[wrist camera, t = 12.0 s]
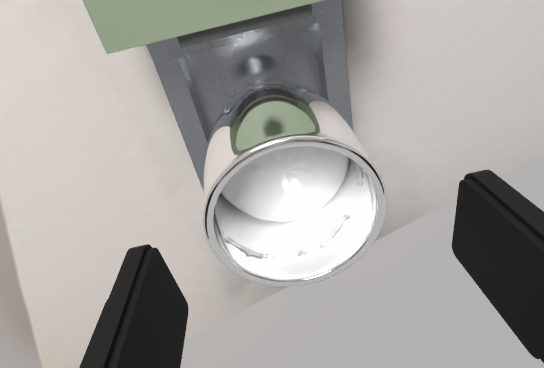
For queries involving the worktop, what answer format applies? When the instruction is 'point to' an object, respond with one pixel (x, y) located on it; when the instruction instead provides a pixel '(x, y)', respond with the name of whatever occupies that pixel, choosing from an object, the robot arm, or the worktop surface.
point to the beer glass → (286, 181)
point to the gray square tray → (234, 49)
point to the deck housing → (186, 19)
